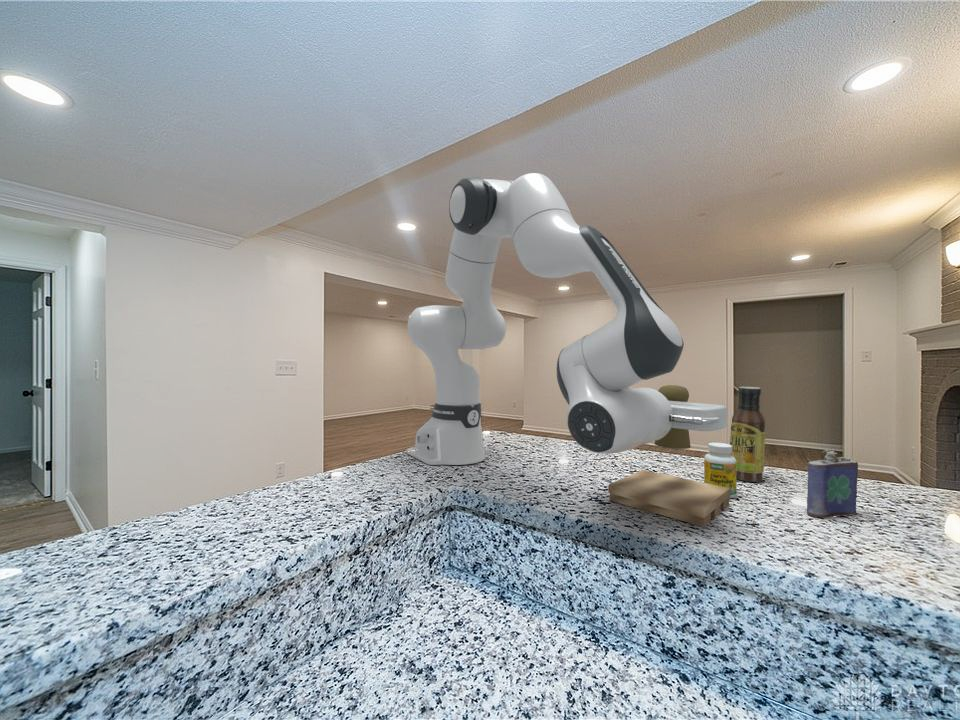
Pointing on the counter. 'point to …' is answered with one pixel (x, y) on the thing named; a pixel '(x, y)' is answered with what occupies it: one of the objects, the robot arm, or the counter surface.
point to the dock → (671, 496)
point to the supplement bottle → (720, 467)
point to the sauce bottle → (748, 436)
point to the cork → (675, 436)
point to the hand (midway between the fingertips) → (674, 407)
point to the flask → (832, 486)
